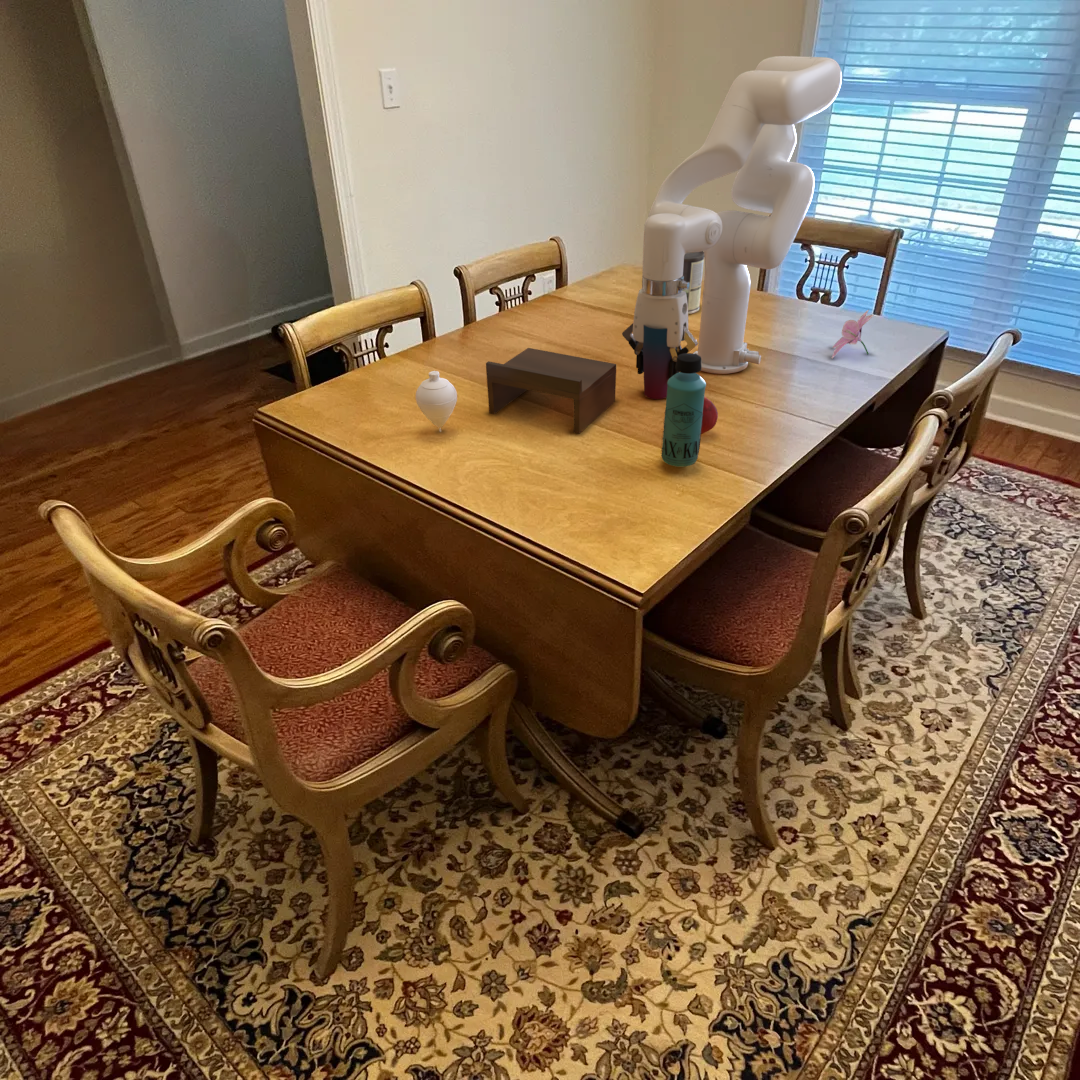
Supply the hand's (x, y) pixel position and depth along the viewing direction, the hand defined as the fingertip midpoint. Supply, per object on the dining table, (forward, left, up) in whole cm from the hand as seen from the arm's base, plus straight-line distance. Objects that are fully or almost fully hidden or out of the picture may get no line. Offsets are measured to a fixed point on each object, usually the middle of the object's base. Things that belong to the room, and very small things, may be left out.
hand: (657, 373), depth 160 cm
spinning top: (+30, +34, -5) cm, 45 cm away
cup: (0, 0, -5) cm, 5 cm away
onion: (-14, +13, -5) cm, 19 cm away
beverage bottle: (-15, +26, -5) cm, 30 cm away
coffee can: (+15, -52, -5) cm, 55 cm away
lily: (-30, -39, -5) cm, 50 cm away
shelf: (+16, +15, -5) cm, 22 cm away
